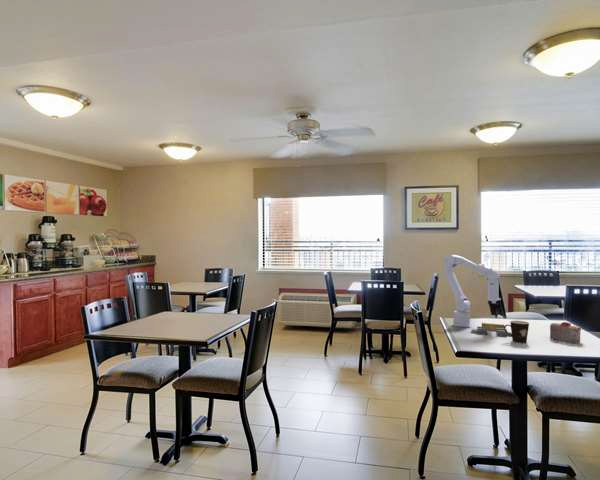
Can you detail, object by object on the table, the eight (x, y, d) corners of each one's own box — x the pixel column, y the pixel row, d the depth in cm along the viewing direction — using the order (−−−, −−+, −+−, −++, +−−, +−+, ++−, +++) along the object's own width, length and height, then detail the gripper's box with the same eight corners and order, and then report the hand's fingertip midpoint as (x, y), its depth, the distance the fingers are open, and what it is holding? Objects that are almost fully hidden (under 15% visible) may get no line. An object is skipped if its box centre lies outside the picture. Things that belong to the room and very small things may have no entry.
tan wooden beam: (481, 329, 236) (481, 323, 236) (481, 329, 238) (481, 322, 238) (504, 331, 231) (504, 325, 231) (504, 331, 233) (504, 324, 233)
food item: (582, 342, 209) (583, 323, 209) (578, 344, 203) (578, 325, 203) (553, 337, 219) (553, 319, 219) (548, 339, 214) (548, 321, 214)
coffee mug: (528, 340, 211) (528, 321, 211) (529, 344, 203) (529, 324, 203) (503, 338, 216) (503, 319, 216) (504, 341, 208) (504, 322, 208)
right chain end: (497, 335, 221) (497, 330, 221) (496, 333, 227) (496, 327, 227) (513, 337, 218) (513, 331, 218) (512, 334, 224) (512, 329, 224)
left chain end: (471, 333, 226) (471, 327, 226) (471, 330, 232) (471, 325, 232) (487, 334, 223) (487, 329, 223) (486, 332, 229) (486, 327, 229)
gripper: (501, 292, 226) (501, 316, 226) (500, 289, 240) (499, 312, 240) (487, 291, 229) (487, 315, 229) (487, 289, 242) (486, 311, 242)
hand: (493, 313), depth 235 cm, fingers open, 7 cm apart
